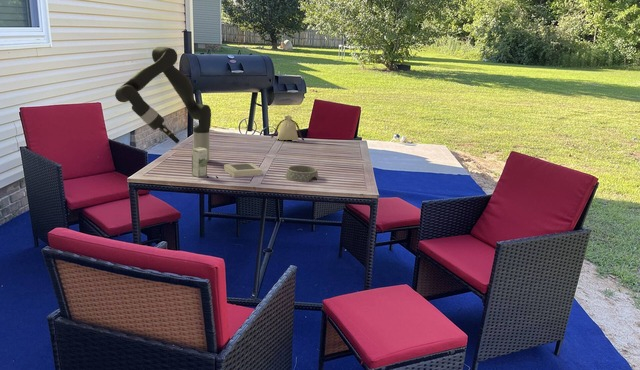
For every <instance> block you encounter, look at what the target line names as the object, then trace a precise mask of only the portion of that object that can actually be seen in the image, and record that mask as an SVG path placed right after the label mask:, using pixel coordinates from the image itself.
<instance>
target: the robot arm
mask: <svg viewBox="0 0 640 370" xmlns="http://www.w3.org/2000/svg"><path fill="white" fill-rule="evenodd" d="M151 58H152V60H153V62H154V63H151V64H150V65H147V66H146V67H143V68H141V69H140V70H138V71H137V72H136V73H135V74H134V75H133V76H131V77H130V79H128V80H127V81H126V82H125V83H124V84H122V85H120V86H119V88H117V89H116V90H115V94H114V96H115V97H114V98H115V99H116V100H117V101H118V102H120V103H128V102H129V103H130V104H131V110H132V111H133V112H134V113H135V114H136V115H137V116H138V117H139V118H140V119H141V120H142V121H143V122H144V123H145V124H146V125H148V126H149V127H150V128H151V130H152V131H156V130H158V131H159V132H160V133H162V134H164V135H165V136H166V137H168V138H169V139H171V141H173V142H174V143H175V144H179V142H180V139H179V138H178V137H176V135H175V133H173V132H172V130H171V129H170V128H169V127H168V126H167V125H166V124H164V122H165V118H164V117H163V116H162V115H161V114H160V113H158V111H156V110H155V109H154V108H153V107H151V106H150V104H149V103H147V102H146V101H145V100H144V99H143V97H142V95H141V94H140V93H139V91H141V90H143V89H144V88H145V87H147V85H148V84H149V83H150V82H151V81H152V80H153V79H155V78H156V77H158V76H159V75H160V74H162V73H163V74H164V76H165V77H166V79H167V80H168V81H169V83H170V84H171V86H172V88H173V89H174V91H175V92H176V94H178V95H177V96H179V98H180V99H181V101H182V103H183V104H184V105H185V108H186V110H187V112H188V114H189V115H190V117H191V118H192V119H193V120H197V121H199V124H197V125H195V126H193V128H192V130H193V132H192V133H193V134H192V135H193V136H192V137H193V139H192V140H193V141H192V144H193V145H192V146H193V148H200V147H201V148H205V149H207V163H208V162H210V128H211V124H212V123H211V122H212V120H211V119H212V109H211V107H210V105H209V104H203V103H199V102H197V101H196V100H195V98H194V86H193V84H192V83H191V81H190V79H189V77H187V75H186V74H184V73H183V72H182V71H181V70H179V69H178V68H177V67H176V66H174V65H175V64H176V62H177V61H178V53H177V51H176V50H175V49H174V48H172V47H167V46H166V47H165V46H155V47H154V48H153V49H152V52H151ZM193 148H192V149H193Z"/></svg>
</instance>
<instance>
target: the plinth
mask: <svg viewBox="0 0 640 370" xmlns="http://www.w3.org/2000/svg"><path fill="white" fill-rule="evenodd" d="M223 167H224V168H223V170H224V171H225V172H226V173H228V174H229V175H230V176H232V177H233V178H237V177H239V178H240V177H251V176H252V177H253V176H254V177H255V176H262V175H263V169H262V168H260V167H259V166H257V165H256V164H254V163H252V162H246V163H228V164H223Z"/></svg>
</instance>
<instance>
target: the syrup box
mask: <svg viewBox="0 0 640 370" xmlns="http://www.w3.org/2000/svg"><path fill="white" fill-rule="evenodd" d="M191 175H192V176H194V177H197V178H201V177H206V176H207V175H208V162H207V149H205V148H201V147H200V148H191Z"/></svg>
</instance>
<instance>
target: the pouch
mask: <svg viewBox="0 0 640 370" xmlns="http://www.w3.org/2000/svg"><path fill="white" fill-rule="evenodd" d="M293 118H294V117H293V116H291V115H290V114H289V115H285V116H284V119H283V120H280V122H279V123H278V124H277V126H276V127H275V130H274V133H273V134H272V135H271V137H270V138H271V139H273V138H274V136H275V135H276V134H277V132H278V134H277V137H276V139H279V140H299V137H300V138H301V140H302V141H303V142H304V141H305V138H304V137H303V136H302V133H301V130H300V127H299V125H298V123H297V121H295V120H293ZM278 129H279V131H278ZM298 135H299V136H298ZM299 141H300V140H299Z"/></svg>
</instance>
